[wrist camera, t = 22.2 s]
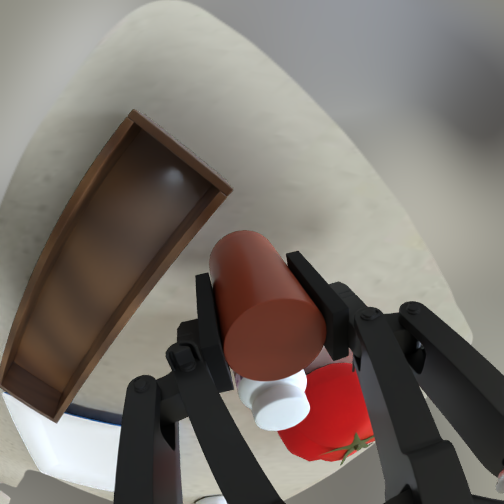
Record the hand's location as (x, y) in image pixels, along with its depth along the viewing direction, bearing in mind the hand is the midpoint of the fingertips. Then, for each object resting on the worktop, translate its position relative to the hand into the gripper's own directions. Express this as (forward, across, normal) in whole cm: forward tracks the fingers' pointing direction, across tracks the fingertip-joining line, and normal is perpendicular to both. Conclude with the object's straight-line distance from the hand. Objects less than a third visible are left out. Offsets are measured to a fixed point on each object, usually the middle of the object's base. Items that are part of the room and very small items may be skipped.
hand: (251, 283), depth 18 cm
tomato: (+7, +6, -19) cm, 21 cm away
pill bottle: (+7, 0, -9) cm, 11 cm away
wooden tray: (+7, -14, -1) cm, 15 cm away
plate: (+7, -26, -25) cm, 37 cm away
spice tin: (+3, 0, 0) cm, 3 cm away
